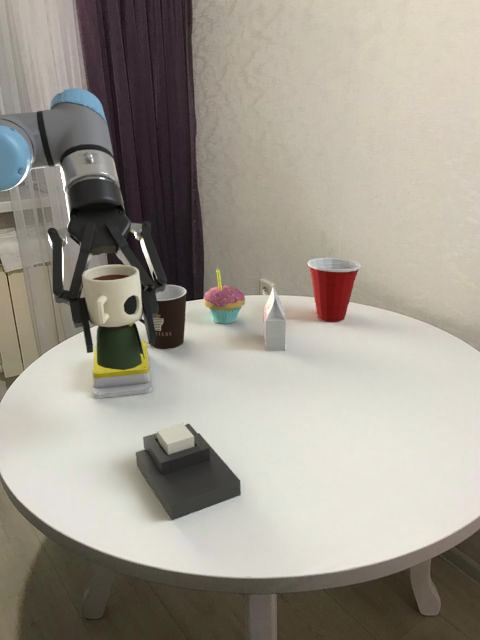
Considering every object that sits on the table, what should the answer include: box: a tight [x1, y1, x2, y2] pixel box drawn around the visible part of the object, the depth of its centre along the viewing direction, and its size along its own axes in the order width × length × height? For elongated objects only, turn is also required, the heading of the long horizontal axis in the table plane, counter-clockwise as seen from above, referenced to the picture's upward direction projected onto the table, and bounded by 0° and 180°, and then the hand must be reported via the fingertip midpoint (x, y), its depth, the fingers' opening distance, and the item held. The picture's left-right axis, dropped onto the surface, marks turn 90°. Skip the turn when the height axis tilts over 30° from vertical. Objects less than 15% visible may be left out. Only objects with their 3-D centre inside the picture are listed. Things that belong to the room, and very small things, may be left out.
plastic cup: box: [306, 257, 362, 323], centre depth 121 cm, size 11×11×12 cm
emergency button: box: [92, 340, 153, 399], centre depth 99 cm, size 9×4×15 cm
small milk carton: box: [263, 287, 287, 351], centre depth 110 cm, size 4×7×10 cm, turn 2°
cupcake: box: [203, 266, 246, 325], centre depth 120 cm, size 9×8×12 cm
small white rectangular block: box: [156, 422, 194, 455], centre depth 75 cm, size 4×4×2 cm
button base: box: [135, 423, 242, 521], centre depth 74 cm, size 12×9×4 cm
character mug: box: [82, 264, 145, 370], centre depth 77 cm, size 11×7×13 cm, turn 174°
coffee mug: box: [138, 284, 188, 350], centre depth 111 cm, size 12×9×10 cm
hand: (121, 344), depth 75 cm, fingers closed on character mug, 7 cm apart
